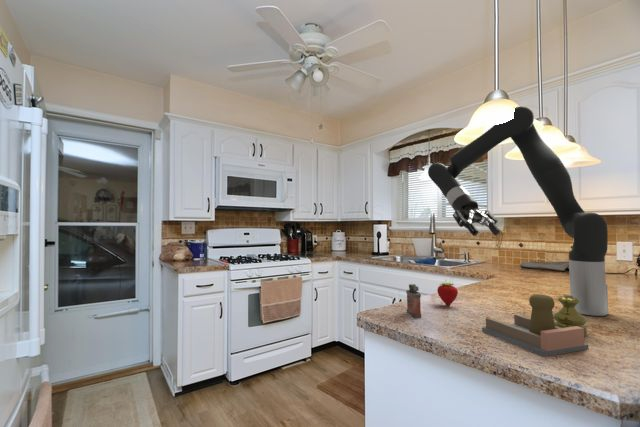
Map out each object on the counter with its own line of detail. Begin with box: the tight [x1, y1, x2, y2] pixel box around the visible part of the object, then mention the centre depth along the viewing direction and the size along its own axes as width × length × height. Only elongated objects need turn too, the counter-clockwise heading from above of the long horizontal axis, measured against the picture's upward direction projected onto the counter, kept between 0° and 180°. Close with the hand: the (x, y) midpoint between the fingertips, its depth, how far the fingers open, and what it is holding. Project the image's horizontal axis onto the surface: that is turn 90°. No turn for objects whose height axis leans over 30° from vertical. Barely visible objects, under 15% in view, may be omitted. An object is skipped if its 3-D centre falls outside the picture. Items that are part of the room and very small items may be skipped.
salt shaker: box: [552, 294, 588, 337], centre depth 87 cm, size 7×7×10 cm
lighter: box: [405, 283, 422, 319], centre depth 106 cm, size 8×3×10 cm, turn 5°
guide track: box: [481, 314, 590, 357], centre depth 82 cm, size 14×18×5 cm
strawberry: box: [436, 278, 459, 307], centre depth 116 cm, size 6×8×10 cm
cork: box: [528, 293, 556, 336], centre depth 79 cm, size 6×6×11 cm
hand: (487, 233), depth 104 cm, fingers open, 8 cm apart
